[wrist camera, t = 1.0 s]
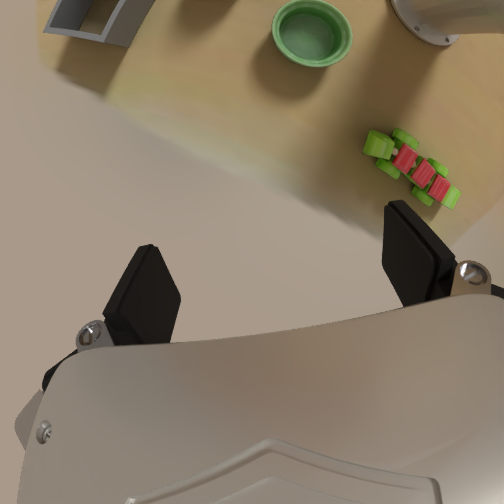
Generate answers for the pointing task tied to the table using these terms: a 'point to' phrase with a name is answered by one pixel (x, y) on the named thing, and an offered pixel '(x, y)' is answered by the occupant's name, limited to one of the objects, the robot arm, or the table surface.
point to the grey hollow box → (116, 30)
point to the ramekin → (311, 33)
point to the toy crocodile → (411, 166)
